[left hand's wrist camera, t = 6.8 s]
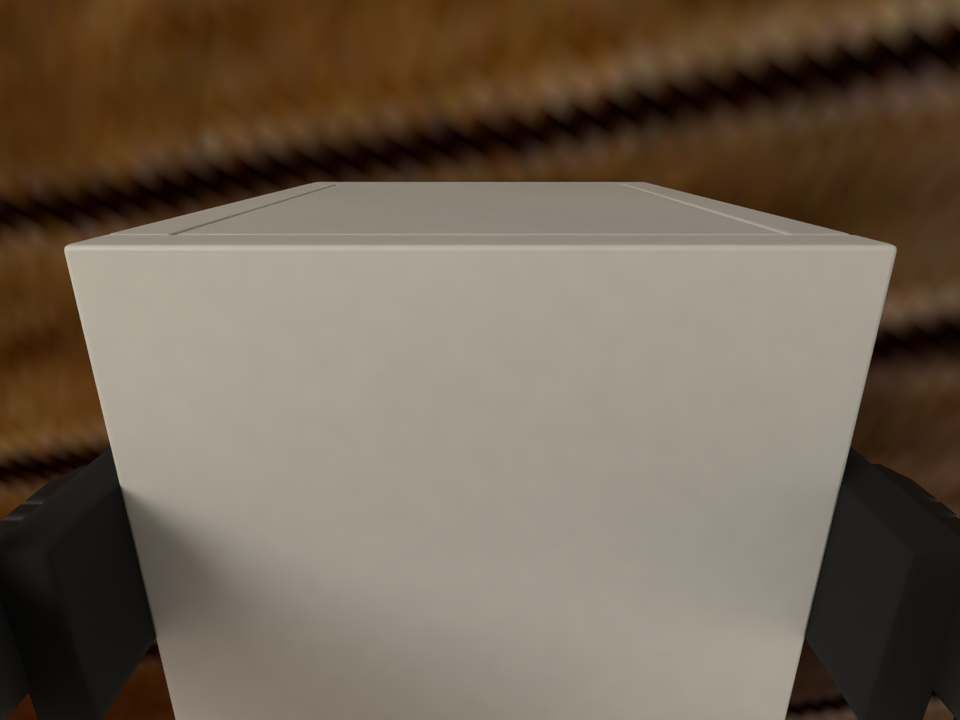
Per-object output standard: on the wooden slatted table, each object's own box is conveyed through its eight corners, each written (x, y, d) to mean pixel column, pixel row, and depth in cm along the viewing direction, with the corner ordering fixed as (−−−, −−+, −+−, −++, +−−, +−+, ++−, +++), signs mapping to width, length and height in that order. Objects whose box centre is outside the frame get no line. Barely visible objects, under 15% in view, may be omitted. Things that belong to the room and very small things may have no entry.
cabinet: (596, 713, 26) (684, 1144, 15) (363, 713, 26) (275, 1144, 15) (645, 181, 18) (901, 245, 7) (314, 181, 18) (59, 245, 7)
